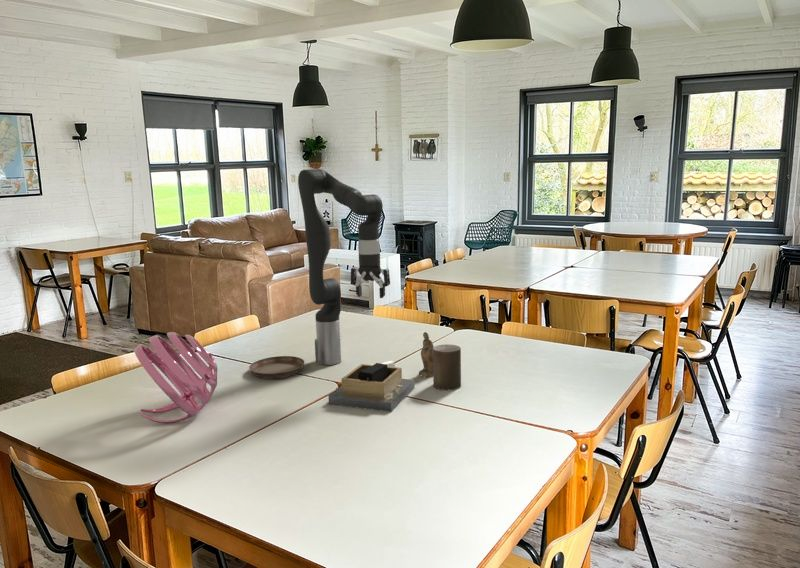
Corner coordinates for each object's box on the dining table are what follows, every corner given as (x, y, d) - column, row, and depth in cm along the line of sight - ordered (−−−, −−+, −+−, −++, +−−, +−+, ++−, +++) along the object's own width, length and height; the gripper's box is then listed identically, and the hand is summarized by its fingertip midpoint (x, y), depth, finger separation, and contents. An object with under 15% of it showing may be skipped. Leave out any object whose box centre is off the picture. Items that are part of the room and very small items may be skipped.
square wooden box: (328, 404, 206) (327, 380, 205) (356, 381, 227) (355, 360, 225) (391, 411, 199) (390, 387, 197) (414, 388, 219) (414, 366, 217)
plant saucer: (239, 379, 233) (239, 371, 232) (264, 362, 253) (263, 354, 252) (292, 382, 228) (291, 374, 228) (312, 364, 248) (312, 356, 247)
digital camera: (374, 381, 218) (373, 362, 217) (388, 383, 215) (387, 364, 214) (358, 391, 209) (357, 371, 208) (372, 393, 206) (371, 373, 205)
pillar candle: (459, 391, 215) (459, 348, 212) (431, 389, 217) (430, 347, 214) (462, 381, 225) (462, 340, 222) (435, 380, 226) (435, 339, 224)
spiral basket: (94, 376, 179) (172, 314, 186) (112, 369, 206) (180, 315, 213) (160, 449, 183) (235, 385, 189) (169, 433, 210) (235, 378, 216)
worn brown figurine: (427, 384, 230) (419, 339, 224) (417, 380, 234) (409, 336, 228) (449, 370, 237) (442, 326, 231) (439, 366, 241) (432, 323, 235)
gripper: (346, 253, 221) (348, 298, 224) (384, 254, 216) (385, 300, 219) (355, 250, 228) (356, 294, 231) (392, 251, 223) (393, 296, 226)
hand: (370, 297), depth 225 cm, fingers open, 8 cm apart
